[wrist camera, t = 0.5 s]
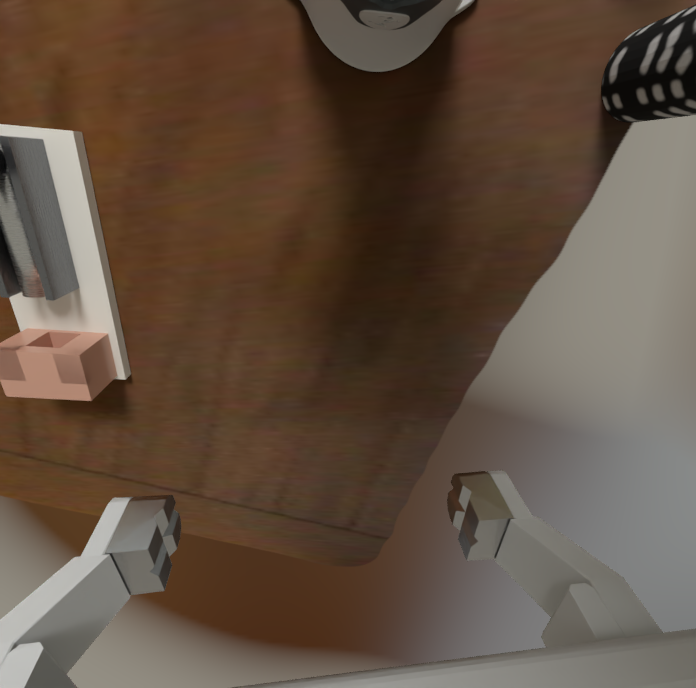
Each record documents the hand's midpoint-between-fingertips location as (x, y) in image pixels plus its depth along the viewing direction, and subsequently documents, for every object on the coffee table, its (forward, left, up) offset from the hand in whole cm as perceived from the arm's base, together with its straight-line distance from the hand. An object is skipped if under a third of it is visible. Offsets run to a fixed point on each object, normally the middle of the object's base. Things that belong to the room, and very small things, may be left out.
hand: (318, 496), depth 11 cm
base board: (+6, -33, -38) cm, 51 cm away
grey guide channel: (0, -33, -37) cm, 50 cm away
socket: (+17, -33, -37) cm, 52 cm away
